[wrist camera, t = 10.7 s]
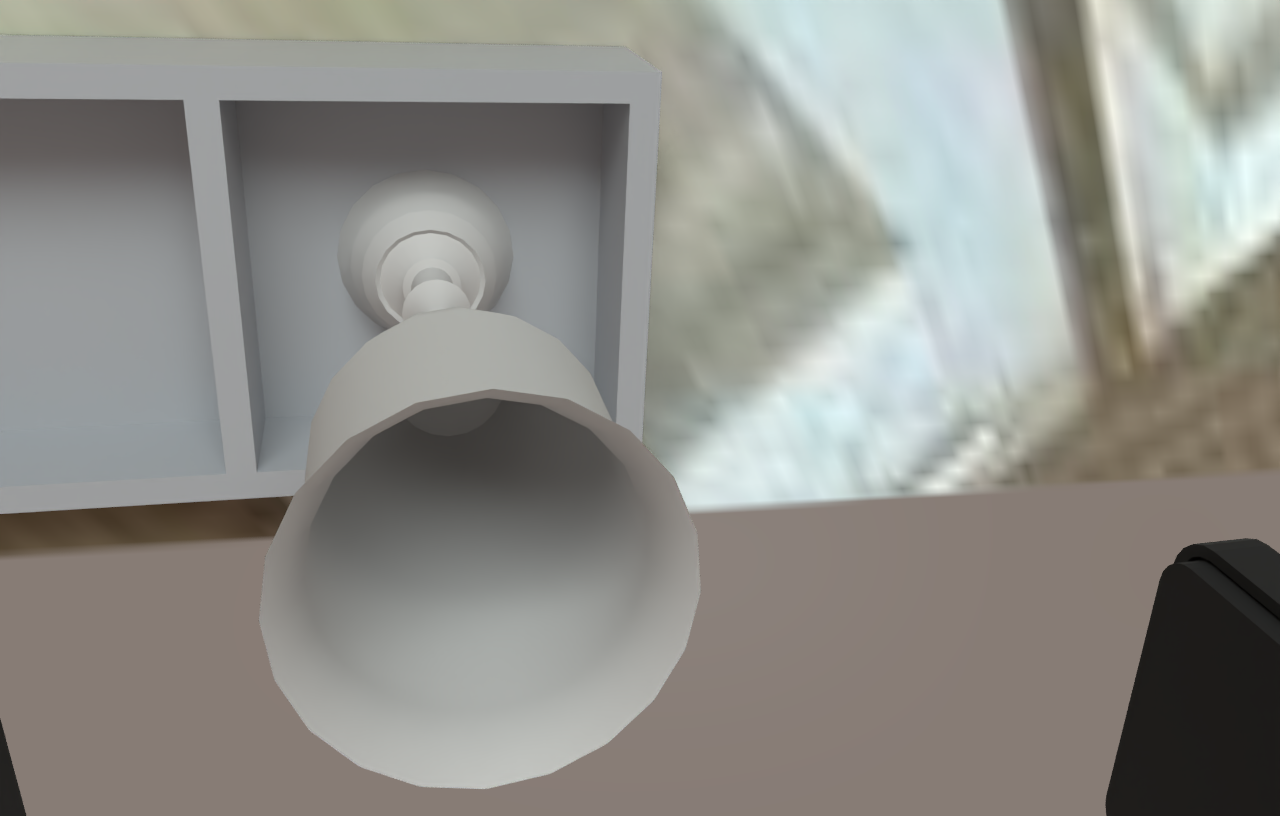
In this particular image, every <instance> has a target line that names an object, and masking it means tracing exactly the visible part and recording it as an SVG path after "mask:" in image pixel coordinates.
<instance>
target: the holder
mask: <svg viewBox="0 0 1280 816" xmlns="http://www.w3.org/2000/svg"><path fill="white" fill-rule="evenodd" d="M661 82H662V72H661V71H660V70H659V69H657V68H656V67H654V66H653V65H651V64H650V63H648V62H647V61H646V60H644V59H643V58H641V57H640V56H638V55H637V54H636V53H634V52H633V51H631V50H630V49H628V48H627V47H616V46H564V45H511V44H459V43H407V42H354V41H302V40H250V39H197V38H145V37H92V36H40V35H0V514H8V513H24V512H40V511H57V510H73V509H89V508H105V507H121V506H137V505H153V504H169V503H185V502H201V501H217V500H233V499H249V498H265V497H281V496H294V495H295V493H296V492H297V491H298V490H299V489H300V488H301V487H302V486H303V485H304V484H305V474H306V464H307V455H308V446H309V437H310V428H311V422H312V420H313V417H314V415H315V413H316V411H317V409H318V407H319V405H320V403H321V400H322V398H323V396H324V394H325V392H326V390H327V388H328V386H329V383H330V381H331V379H332V378H333V377H334V376H335V375H336V374H337V373H338V372H339V371H340V370H341V368H342V367H343V366H344V365H345V364H346V363H347V362H348V361H349V360H350V359H351V358H352V357H353V356H354V355H355V354H356V353H357V352H358V351H359V350H360V349H361V348H362V347H363V345H364V344H365V343H366V342H368V341H369V340H371V339H373V338H374V337H376V336H377V335H379V334H381V333H382V332H384V331H386V330H388V329H387V328H384V327H382V326H380V325H378V324H376V323H375V322H374V321H372V320H371V319H370V318H369V317H368V316H367V315H366V314H365V313H363V312H362V311H361V310H360V309H359V308H358V307H357V306H356V305H355V303H354V302H353V300H352V298H351V296H350V295H349V293H348V291H347V290H346V288H345V286H344V284H343V283H342V278H341V273H340V268H339V264H338V259H337V253H338V245H339V237H340V230H341V228H342V226H343V224H344V222H345V220H346V218H347V216H348V214H349V212H350V210H351V208H352V206H353V204H354V203H356V202H357V201H358V200H359V199H360V198H361V197H362V196H363V195H364V194H365V193H366V192H367V191H368V190H369V189H370V188H371V187H372V186H373V185H375V184H377V183H379V182H381V181H383V180H386V179H388V178H390V177H392V176H394V175H396V174H398V173H405V172H412V171H419V170H431V171H437V172H443V173H449V174H454V175H456V176H458V177H460V178H462V179H464V180H466V181H467V182H469V183H471V184H473V185H475V186H477V187H479V188H480V189H481V190H482V191H483V192H484V193H485V194H486V195H487V196H488V197H489V198H490V199H491V200H492V201H493V202H494V203H495V204H496V205H497V206H498V208H499V210H500V212H501V214H502V216H503V218H504V220H505V222H506V224H507V226H508V228H509V230H510V236H511V244H512V251H513V261H512V266H511V272H510V277H509V282H508V284H507V286H506V288H505V289H504V291H503V293H502V295H501V297H500V299H499V300H498V302H497V304H496V305H495V306H494V307H493V308H492V309H491V310H490V311H489V312H495V313H500V314H505V315H510V316H515V317H517V318H519V319H521V320H523V321H525V322H527V323H529V324H531V325H533V326H534V327H536V328H538V329H540V330H542V331H544V332H546V333H548V334H550V335H552V336H553V337H555V338H557V339H559V340H560V341H561V342H562V343H563V344H564V346H565V347H566V348H567V349H568V350H569V351H570V352H571V353H572V354H573V355H574V356H575V357H576V358H577V359H578V361H579V362H580V363H581V364H582V365H583V366H584V367H585V368H586V369H587V370H588V371H589V372H590V374H591V376H592V378H593V380H594V382H595V385H596V387H597V389H598V391H599V393H600V395H601V398H602V400H603V402H604V404H605V406H606V409H607V411H608V413H609V415H610V417H611V419H612V421H613V422H615V423H617V424H619V425H621V426H622V427H624V428H626V429H628V430H630V431H631V432H632V433H633V434H634V435H635V436H636V437H637V438H638V439H639V440H640V442H641V443H642V435H643V417H644V398H645V380H646V361H647V342H648V324H649V305H650V287H651V268H652V250H653V231H654V212H655V194H656V175H657V157H658V138H659V119H660V101H661Z"/></svg>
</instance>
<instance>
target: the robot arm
mask: <svg viewBox="0 0 1280 816" xmlns="http://www.w3.org/2000/svg"><path fill="white" fill-rule="evenodd" d="M1106 815H1107V816H1280V554H1279V553H1277V552H1276V551H1275V550H1274V549H1272V548H1271V547H1270V546H1268V545H1267V544H1265V543H1263V542H1261V541H1259V540H1257V539H1246V538H1245V539H1236V540H1227V541H1219V542H1209V543H1200V544H1193V545H1190V546H1188V547H1185V548H1183V550H1182V551H1181V552H1180V553H1179V554H1178V555H1177V557H1176V559H1175V562H1174V564H1172V565H1169V566H1168V567H1167V568H1166V569H1165V570H1164V571H1163V573H1162V576H1161V578H1160V581H1159V586H1158V589H1157V593H1156V597H1155V601H1154V605H1153V610H1152V614H1151V618H1150V622H1149V626H1148V630H1147V634H1146V638H1145V642H1144V646H1143V650H1142V654H1141V658H1140V662H1139V666H1138V670H1137V674H1136V678H1135V682H1134V687H1133V690H1132V694H1131V698H1130V702H1129V706H1128V711H1127V715H1126V719H1125V723H1124V727H1123V731H1122V735H1121V739H1120V743H1119V747H1118V751H1117V755H1116V759H1115V763H1114V767H1113V771H1112V776H1111V780H1110V784H1109V787H1108V791H1107V795H1106ZM0 816H26V813H25V809H24V805H23V802H22V798H21V794H20V790H19V787H18V783H17V779H16V775H15V772H14V768H13V765H12V761H11V757H10V753H9V750H8V746H7V742H6V738H5V735H4V731H3V728H2V723H1V720H0Z"/></svg>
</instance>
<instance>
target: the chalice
mask: <svg viewBox="0 0 1280 816" xmlns="http://www.w3.org/2000/svg"><path fill="white" fill-rule="evenodd" d="M337 259H338V264H339V268H340V273H341V278H342V283H343V284H344V286H345V288H346V290H347V291H348V293H349V295H350V296H351V298H352V300H353V302H354V303H355V305H356V306H357V307H358V308H359V309H360V310H361V311H362V312H363V313H365V314H366V315H367V316H368V317H369V318H370V319H371V320H372V321H374V322H375V323H376V324H378V325H380V326H382V327H384V328H387V329H388V330H386V331H384V332H382V333H381V334H379V335H377V336H376V337H374V338H373V339H371V340H369V341H368V342H366V343H365V344H364V345H363V347H362V348H361V349H360V350H359V351H358V352H357V353H356V354H355V355H354V356H353V357H352V358H351V359H350V360H349V361H348V362H347V363H346V364H345V365H344V366H343V367H342V368H341V370H340V371H339V372H338V373H337V374H336V375H335V376H334V377H333V378H332V379H331V381H330V383H329V386H328V388H327V390H326V392H325V394H324V396H323V398H322V400H321V403H320V405H319V407H318V409H317V411H316V413H315V415H314V417H313V420H312V422H311V428H310V437H309V446H308V455H307V464H306V474H305V484H304V485H303V486H302V487H301V488H300V489H299V490H298V491H297V492H296V493H295V495H294V497H293V499H292V501H291V503H290V505H289V507H288V509H287V511H286V514H285V516H284V518H283V520H282V522H281V524H280V526H279V528H278V531H277V533H276V535H275V537H274V539H273V541H272V543H271V545H270V547H269V550H268V552H267V554H266V556H265V564H264V575H263V585H262V596H261V605H260V615H259V623H260V626H261V631H262V634H263V638H264V642H265V646H266V650H267V654H268V657H269V661H270V665H271V669H272V673H273V676H274V680H275V682H276V683H277V685H278V686H279V688H280V689H281V690H282V692H283V693H284V695H285V696H286V697H287V699H288V700H289V702H290V703H291V705H292V706H293V708H294V709H295V711H296V712H297V713H298V715H299V716H300V718H301V719H302V721H303V722H304V723H305V725H306V726H307V728H308V729H309V731H311V732H312V733H314V734H315V735H316V736H318V737H319V738H321V739H322V740H323V741H325V742H326V743H327V744H329V745H330V746H332V747H333V748H334V749H336V750H337V751H338V752H340V753H341V754H343V755H344V756H345V757H347V758H348V759H350V760H351V761H352V762H354V763H355V764H356V765H358V766H359V767H362V768H365V769H368V770H371V771H374V772H377V773H380V774H384V775H386V776H389V777H392V778H396V779H399V780H401V781H405V782H408V783H411V784H413V785H417V786H420V787H442V788H472V789H487V788H492V787H496V786H501V785H504V784H509V783H513V782H517V781H521V780H526V779H530V778H535V777H538V776H543V775H547V774H550V773H553V772H554V771H556V770H558V769H560V768H562V767H564V766H566V765H568V764H570V763H571V762H573V761H575V760H577V759H579V758H581V757H583V756H585V755H586V754H588V753H590V752H592V751H594V750H596V749H598V748H600V747H601V746H603V745H605V744H607V743H608V742H609V741H610V740H611V739H613V738H614V737H615V736H616V735H617V734H618V733H619V732H620V731H621V730H622V729H623V728H625V726H627V725H628V724H629V723H630V722H631V721H632V720H633V719H634V718H635V717H636V716H637V715H639V714H640V713H641V712H642V711H643V710H644V709H645V708H646V707H647V706H648V705H649V704H650V703H651V702H652V701H653V700H654V699H655V697H656V696H657V694H658V693H659V691H660V689H661V688H662V686H663V684H664V683H665V681H666V679H667V678H668V676H669V675H670V673H671V671H672V670H673V668H674V667H675V665H676V663H677V662H678V660H679V658H680V657H681V655H682V653H683V652H684V650H685V648H686V644H687V641H688V637H689V634H690V630H691V626H692V622H693V618H694V615H695V611H696V607H697V603H698V600H699V596H700V592H701V588H700V571H699V554H698V536H697V531H696V529H695V526H694V524H693V521H692V519H691V517H690V514H689V512H688V509H687V507H686V505H685V502H684V500H683V498H682V495H681V493H680V490H679V488H678V486H677V483H676V481H675V479H674V477H673V476H672V475H671V474H670V472H669V471H668V470H667V469H666V468H665V467H664V466H663V465H662V464H661V463H660V462H659V461H658V460H657V459H656V458H655V456H654V455H653V454H652V453H651V452H650V451H649V450H648V449H647V448H646V447H645V446H644V445H643V444H642V443H641V442H640V440H639V439H638V438H637V437H636V436H635V435H634V434H633V433H632V432H631V431H630V430H628V429H626V428H624V427H622V426H621V425H619V424H617V423H615V422H613V421H612V419H611V417H610V415H609V413H608V411H607V409H606V406H605V404H604V402H603V400H602V398H601V395H600V393H599V391H598V389H597V387H596V385H595V382H594V380H593V378H592V376H591V374H590V372H589V371H588V370H587V369H586V368H585V367H584V366H583V365H582V364H581V363H580V362H579V361H578V359H577V358H576V357H575V356H574V355H573V354H572V353H571V352H570V351H569V350H568V349H567V348H566V347H565V346H564V344H563V343H562V342H561V341H560V340H559V339H557V338H555V337H553V336H552V335H550V334H548V333H546V332H544V331H542V330H540V329H538V328H536V327H534V326H533V325H531V324H529V323H527V322H525V321H523V320H521V319H519V318H517V317H515V316H510V315H505V314H500V313H495V312H489V311H490V310H491V309H492V308H493V307H494V306H495V305H496V304H497V302H498V300H499V299H500V297H501V295H502V293H503V291H504V289H505V288H506V286H507V284H508V282H509V277H510V272H511V266H512V261H513V251H512V244H511V236H510V230H509V228H508V226H507V224H506V222H505V220H504V218H503V216H502V214H501V212H500V210H499V208H498V206H497V205H496V204H495V203H494V202H493V201H492V200H491V199H490V198H489V197H488V196H487V195H486V194H485V193H484V192H483V191H482V190H481V189H480V188H479V187H477V186H475V185H473V184H471V183H469V182H467V181H466V180H464V179H462V178H460V177H458V176H456V175H454V174H449V173H443V172H437V171H431V170H419V171H412V172H405V173H398V174H396V175H394V176H392V177H390V178H388V179H386V180H383V181H381V182H379V183H377V184H375V185H373V186H372V187H371V188H370V189H369V190H368V191H367V192H366V193H365V194H364V195H363V196H362V197H361V198H360V199H359V200H358V201H357V202H356V203H354V204H353V206H352V208H351V210H350V212H349V214H348V216H347V218H346V220H345V222H344V224H343V226H342V228H341V230H340V237H339V245H338V253H337Z"/></svg>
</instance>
